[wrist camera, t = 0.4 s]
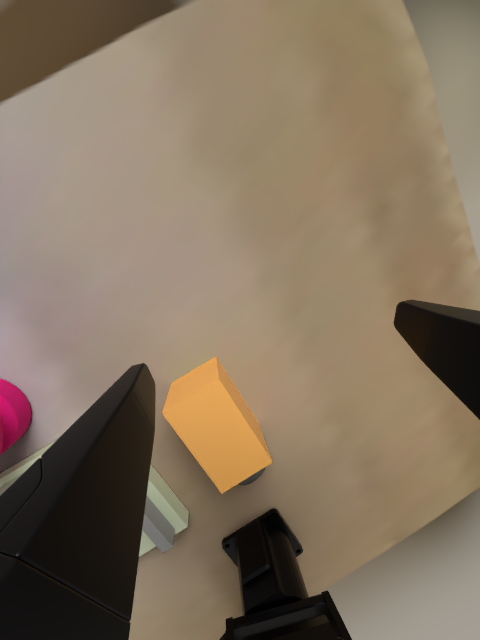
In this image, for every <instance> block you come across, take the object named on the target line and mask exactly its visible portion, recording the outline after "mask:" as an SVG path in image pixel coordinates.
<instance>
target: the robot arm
mask: <svg viewBox="0 0 480 640" xmlns="http://www.w3.org/2000/svg"><path fill="white" fill-rule="evenodd" d="M394 326H395V328H396V330H397V331H398V332H399V333H400V335H401V336H402V337H403V338H404V339H405V341H406V342H407V343H408V344H409V346H410V347H411V348H412V349H413V351H414V352H415V353H416V354H417V356H418V357H419V358H420V359H421V360H422V361H423V362H424V364H425V365H426V366H427V367H428V368H429V369H430V370H431V371H432V372H433V373H434V374H435V375H436V376H437V377H438V378H439V379H440V380H441V381H442V382H443V383H444V384H445V385H446V386H447V387H448V388H449V389H450V390H451V391H452V392H453V393H454V394H455V395H456V396H457V397H458V398H459V399H460V400H461V401H462V402H463V403H464V404H465V405H466V406H467V407H468V408H469V409H470V410H471V411H472V412H473V414H474V415H475V416H476V417H477V418H478V419H479V420H480V311H477V310H471V309H465V308H459V307H453V306H447V305H441V304H435V303H429V302H423V301H417V300H407V301H402V302H400V303H398V305H397V307H396V313H395V318H394ZM154 433H155V382H154V379H153V377H152V375H151V373H150V371H149V369H148V367H147V365H146V364H144V363H142V364H137V365H133V366H131V367H130V368H129V369H128V370H127V371H126V372H125V373H124V374H123V375H122V376H121V377H120V378H119V379H118V380H117V381H116V382H115V383H114V384H113V385H112V386H111V387H110V388H109V389H108V390H107V391H106V392H105V393H104V394H103V395H102V396H101V397H100V398H99V399H98V400H97V401H96V402H95V403H94V404H93V405H92V406H91V407H90V408H89V409H88V410H87V411H86V412H85V413H84V414H83V415H82V416H81V417H80V418H79V419H78V420H77V421H76V422H75V423H74V424H73V425H72V426H71V427H70V428H69V429H68V430H67V431H66V432H65V433H64V434H63V435H62V436H61V437H60V438H59V439H58V440H56V441H55V442H54V443H53V444H52V445H51V446H50V447H49V448H48V449H47V450H46V451H45V452H44V453H43V454H42V456H41V458H38V459H37V460H36V461H35V462H34V463H33V464H32V465H31V466H30V467H29V468H28V469H27V470H26V471H25V472H24V473H23V474H22V475H21V476H20V477H19V478H18V479H17V480H16V481H15V482H14V483H13V484H12V485H11V486H10V487H9V488H7V489H6V490H5V491H4V492H3V493H2V494H1V495H0V640H128V639H129V631H130V622H129V621H130V620H131V614H132V606H133V598H134V590H135V583H136V575H137V567H138V559H139V551H140V543H141V536H142V528H143V520H144V512H145V504H146V496H147V489H148V481H149V473H150V465H151V457H152V449H153V442H154ZM274 514H275V515H274ZM222 547H223V549H224V550H225V552H226V553H227V554H228V556H229V557H230V558H231V559H232V561H233V562H234V563H235V564H236V566H237V567H238V573H239V582H240V591H241V599H242V608H243V616H241V617H237V618H234V619H233V618H232V617H231V618H227V619H226V631H225V633H224V635H223V636H222V637H221V638H220V640H352V639H351V637H350V635H349V633H348V631H347V629H346V626H345V624H344V622H343V620H342V618H341V616H340V614H339V612H338V610H337V608H336V606H335V604H334V602H333V600H332V598H331V596H330V594H329V592H328V591H324V592H322V594H319V595H316V596H312V597H308V593H307V590H306V587H305V584H304V581H303V578H302V575H301V572H300V569H299V566H298V562H297V559H296V557H297V556H299V555H300V554H301V553H302V552H303V549H302V546H301V544H300V543H299V541H298V540H297V538H296V537H295V535H294V534H293V532H292V531H291V529H290V528H289V526H288V525H287V523H286V522H285V520H284V519H283V517H282V516H281V515H280V513H279V512H278V510H277V509H271V510H269V511H268V512H266V513H265V514H263V515H261V516H260V517H258V518H257V519H255V520H253V521H252V522H250V523H249V524H247V525H245V526H244V527H242V528H241V529H239V530H237V531H236V532H234V533H233V534H231V535H229V536H228V537H226V538H224V539H223V541H222Z"/></svg>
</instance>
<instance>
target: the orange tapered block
mask: <svg viewBox="0 0 480 640" xmlns="http://www.w3.org/2000/svg"><path fill="white" fill-rule="evenodd" d="M162 414H163V415H164V417H165V418H166V419H167V421H168V422H169V423H170V425H171V426H172V427H173V429H174V430H175V431H176V433H177V434H178V436H179V437H180V438H181V440H182V441H183V442H184V444H185V445H186V446H187V448H188V449H189V450H190V452H191V453H192V454H193V456H194V457H195V458H196V460H197V461H198V463H199V464H200V465H201V467H202V468H203V469H204V471H205V472H206V473H207V475H208V476H209V477H210V479H211V480H212V481H213V483H214V484H215V486H216V487H217V488H218V490H219V491H220V492H221V494H222V493H224V492H225V491H227V490H229V489H230V488H232V487H234V486H235V485H237V484H238V485H246V484H249V483H251V482H253V481H255V480H256V479H257V478H258V477H259V476H260V475H261V474H262V473H263V471H264V470H265V468H266V466H268V465H269V464H271V463H273V461H272V459H271V456H270V453H269V450H268V448H267V445H266V442H265V439H264V437H263V434H262V431H261V428H260V426H259V424H258V422H257V420H256V419H255V417H254V416H253V414H252V412H251V411H250V409H249V408H248V406H247V405H246V403H245V401H244V400H243V398H242V397H241V395H240V394H239V392H238V390H237V389H236V387H235V386H234V384H233V382H232V381H231V379H230V378H229V376H228V375H227V373H226V371H225V370H224V368H223V367H222V365H221V364H220V362H219V360H218V359H217V357H214V358H212V359H211V360H209V361H207V362H206V363H204V364H202V365H201V366H199V367H197V368H196V369H194V370H192V371H191V372H189V373H187V374H186V375H184V376H182V377H181V378H179V379H177V380H176V381H174V382H172V383H171V386H170V389H169V393H168V396H167V399H166V402H165V405H164V408H163V412H162Z"/></svg>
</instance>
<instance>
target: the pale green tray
mask: <svg viewBox="0 0 480 640" xmlns="http://www.w3.org/2000/svg"><path fill="white" fill-rule="evenodd" d="M57 440H58V439H57ZM54 442H55V441H54ZM54 442H52V443H51V444H49V445H47V446H46V447H44V448H42V449H41V450H39V451H37V452H35V453H34V454H32V455H30V456H29V457H27V458H25V459H24V460H22V461H20V462H19V463H17V464H15V465H13V466H12V467H10V468H8V469H7V470H5V471H3V472H2V473H0V495H1V494H2V493H3V492H4V491H5V490H6V489H7V488H9V487H10V486H11V485H12V484H13V483H14V482H15V481H16V480H17V479H18V478H19V477H20V476H21V475H22V474H23V473H24V472H25V471H26V470H27V469H28V468H29V467H30V466H31V465H32V464H33V463H34V462H35V461H36V460H37V459H38V458H41V456H42V454H43V453H44V452H45V451H46V450H47V449H48V448H49V447H50V446H51V445H52V444H53V443H54ZM188 515H189V511H188V510H187V509H186V508H185V506H184V505H183V504H182V503H181V501H180V500H179V499H178V498H177V496H176V495H175V494H174V493H173V491H172V490H171V489H170V488H169V486H168V485H167V484H166V483H165V481H164V480H163V479H162V478H161V476H160V475H159V474H158V473H157V471H156V470H155V469H154V468H153V466H152V465H150V473H149V481H148V489H147V496H146V504H145V512H144V520H143V528H142V536H141V543H140V551H139V557H140V556H141V555H143V554H145V553H146V552H148V551H150V550H151V549H153V548H154V547H156V546H157V547H158V549H159V550H160V551H161V552H162V553H164V552H166V551H167V550H169V549H171V548H172V547H173V543H174V535H176V534H177V533H179V532H180V531H182V530H184V529H185V528H187V527H188Z"/></svg>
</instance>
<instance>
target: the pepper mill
mask: <svg viewBox="0 0 480 640" xmlns="http://www.w3.org/2000/svg"><path fill="white" fill-rule="evenodd" d="M30 420H31V409H30V404H29V402H28V400H27V398H26V397H25V395H24V394H23V393H22V392H21V391H20V390H19V389H18V388H17V387H16V386H14V385H13V384H11V383H9V382H7V381H6V380H2V379H0V455H1V454H2V453H3V452H4V451H6V450H7V449H8V448H9V447H10V446H11V445H13V444H14V443H15V442H16V441H17V440H18V439H19V438H21V437H22V436H23V435H24V433H25V432H26V430H27V429H28V427H29V424H30Z"/></svg>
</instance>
